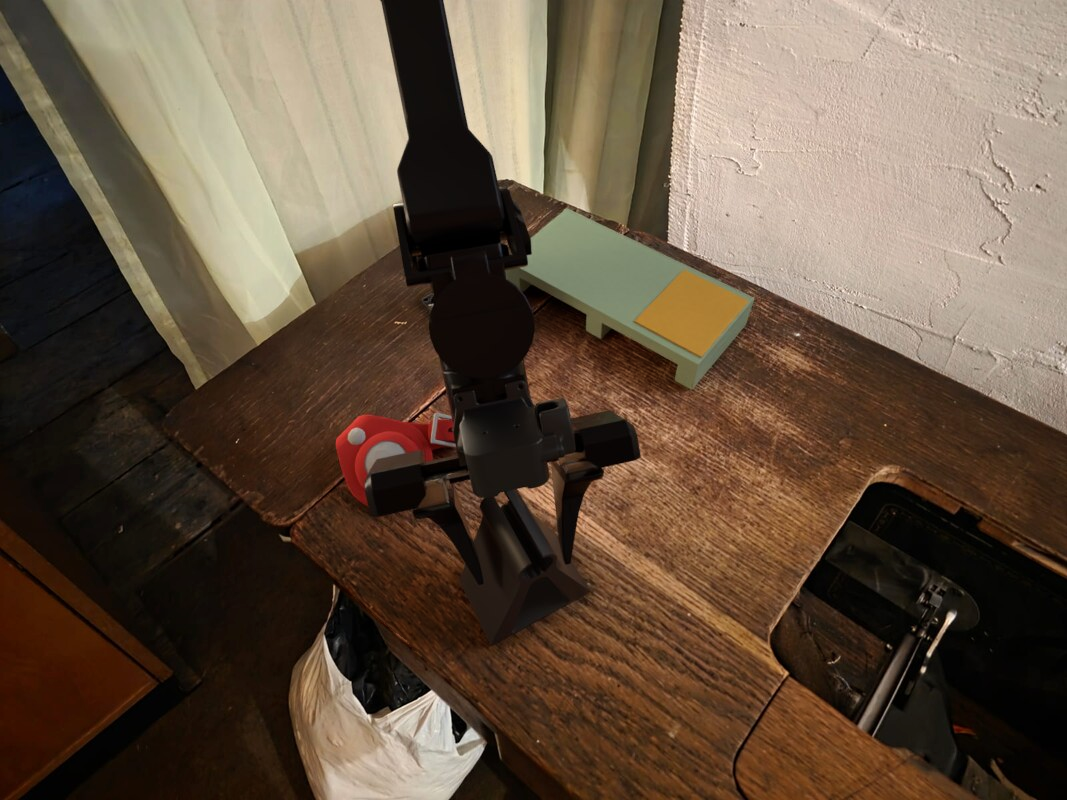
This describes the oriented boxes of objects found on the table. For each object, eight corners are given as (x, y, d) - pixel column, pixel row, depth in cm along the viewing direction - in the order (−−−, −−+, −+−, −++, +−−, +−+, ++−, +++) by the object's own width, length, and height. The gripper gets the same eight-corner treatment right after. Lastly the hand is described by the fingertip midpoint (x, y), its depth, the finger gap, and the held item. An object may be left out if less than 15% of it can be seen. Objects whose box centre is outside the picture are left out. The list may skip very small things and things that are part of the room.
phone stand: (554, 533, 58) (553, 461, 48) (590, 593, 55) (596, 529, 45) (459, 581, 56) (437, 516, 46) (490, 647, 52) (474, 591, 43)
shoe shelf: (507, 286, 76) (504, 258, 72) (566, 235, 81) (566, 206, 77) (691, 390, 66) (698, 363, 63) (746, 324, 71) (755, 296, 68)
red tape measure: (388, 529, 57) (306, 454, 59) (398, 534, 62) (322, 464, 63) (483, 425, 60) (402, 356, 62) (486, 437, 64) (411, 372, 66)
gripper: (327, 407, 38) (388, 660, 40) (646, 343, 40) (685, 588, 42) (353, 384, 49) (399, 584, 51) (601, 335, 51) (634, 530, 53)
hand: (524, 572), depth 49 cm, fingers open, 6 cm apart
